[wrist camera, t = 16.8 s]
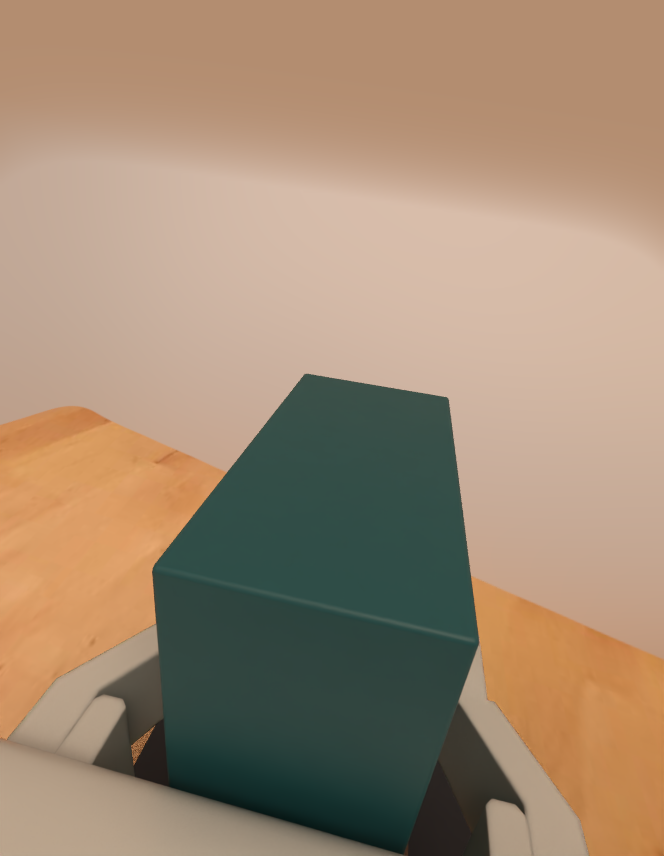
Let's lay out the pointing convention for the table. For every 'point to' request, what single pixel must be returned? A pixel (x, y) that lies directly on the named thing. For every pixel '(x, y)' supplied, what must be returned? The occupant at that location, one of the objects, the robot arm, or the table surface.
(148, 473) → the table surface
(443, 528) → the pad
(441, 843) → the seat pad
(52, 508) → the table surface
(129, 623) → the table surface
